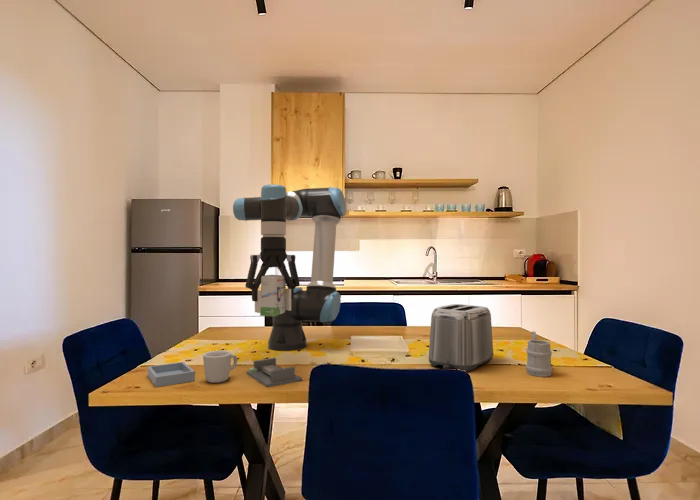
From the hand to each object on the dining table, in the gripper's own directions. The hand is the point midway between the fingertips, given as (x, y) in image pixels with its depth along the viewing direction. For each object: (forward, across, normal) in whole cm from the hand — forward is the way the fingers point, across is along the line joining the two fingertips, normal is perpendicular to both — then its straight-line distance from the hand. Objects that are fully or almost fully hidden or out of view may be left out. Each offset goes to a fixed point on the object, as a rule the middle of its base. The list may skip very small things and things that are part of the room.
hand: (273, 311), depth 132 cm
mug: (+20, -71, +41) cm, 84 cm away
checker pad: (+19, 0, 0) cm, 19 cm away
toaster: (+20, -59, +20) cm, 65 cm away
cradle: (+20, 0, 0) cm, 20 cm away
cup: (+20, +14, -7) cm, 25 cm away
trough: (+20, +26, -16) cm, 36 cm away
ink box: (+1, 0, 0) cm, 1 cm away
